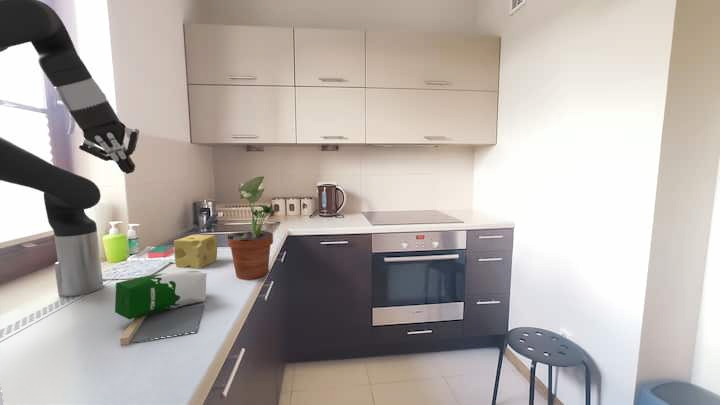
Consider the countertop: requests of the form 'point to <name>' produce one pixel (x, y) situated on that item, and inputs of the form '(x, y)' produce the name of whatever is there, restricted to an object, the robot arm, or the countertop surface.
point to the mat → (163, 324)
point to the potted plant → (252, 238)
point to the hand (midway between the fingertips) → (130, 171)
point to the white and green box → (159, 293)
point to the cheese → (195, 251)
